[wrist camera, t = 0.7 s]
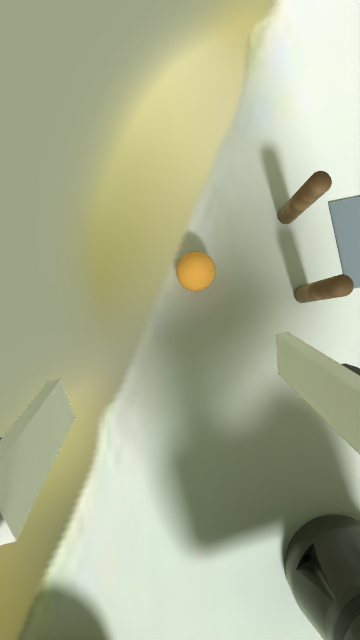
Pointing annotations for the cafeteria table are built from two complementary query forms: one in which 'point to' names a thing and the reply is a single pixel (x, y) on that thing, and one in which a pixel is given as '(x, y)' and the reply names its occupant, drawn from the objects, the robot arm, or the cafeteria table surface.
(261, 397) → the cafeteria table surface
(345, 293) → the post
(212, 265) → the ball
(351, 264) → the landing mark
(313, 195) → the post
